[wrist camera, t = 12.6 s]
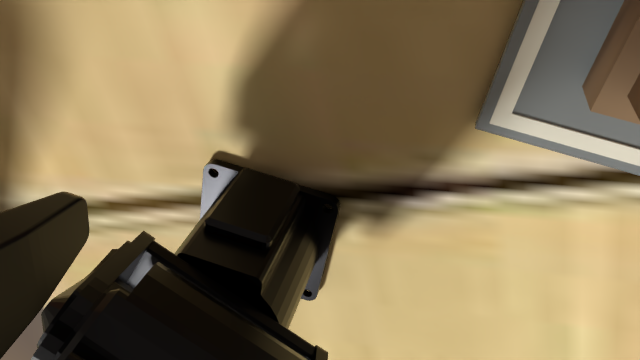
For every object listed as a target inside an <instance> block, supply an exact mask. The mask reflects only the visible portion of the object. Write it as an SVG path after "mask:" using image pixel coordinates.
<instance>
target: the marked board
mask: <svg viewBox="0 0 640 360" xmlns="http://www.w3.org/2000/svg"><path fill="white" fill-rule="evenodd" d="M623 2H624V0H524V1H523V3H522V6H521V8H520V11H519V13H518V16H517V19H516V21H515V24H514V26H513V29H512V31H511V34H510V36H509V39H508V42H507V44H506V47H505V49H504V52H503V54H502V57H501V59H500V62H499V64H498V67H497V70H496V72H495V75H494V77H493V80H492V82H491V85H490V87H489V90H488V93H487V95H486V98H485V100H484V103H483V105H482V108H481V110H480V113H479V115H478V118H477V121H476V124H475V129H478V130H482V131H485V132H489V133H492V134H496V135H499V136H503V137H506V138H510V139H513V140H517V141H520V142H524V143H527V144H531V145H534V146H538V147H541V148H545V149H548V150H552V151H555V152H559V153H562V154H566V155H569V156H573V157H576V158H580V159H583V160H587V161H590V162H594V163H597V164H601V165H604V166H608V167H611V168H615V169H618V170H622V171H625V172H629V173H632V174H636V175H639V176H640V124H636V123H632V122H628V121H625V120H621V119H617V118H614V117H610V116H606V115H602V114H599V113H595V112H591V111H590V109H589V106H588V103H587V100H586V97H585V94H584V91H583V88H582V85H583V83H584V81H585V79H586V77H587V75H588V73H589V71H590V69H591V67H592V65H593V63H594V61H595V59H596V57H597V55H598V53H599V51H600V49H601V47H602V45H603V43H604V41H605V39H606V37H607V35H608V33H609V30H610V28H611V26H612V24H613V22H614V20H615V18H616V16H617V14H618V12H619V10H620V8H621V6H622V4H623Z"/></svg>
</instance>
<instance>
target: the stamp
mask: <svg viewBox="0 0 640 360" xmlns="http://www.w3.org/2000/svg"><path fill="white" fill-rule="evenodd" d="M582 88H583V91H584V94H585V97H586V100H587V103H588V106H589V109H590V111H591V112H595V113H599V114H602V115H606V116H610V117H614V118H617V119H621V120H625V121H628V122H632V123H636V124H640V0H624V2H623V4H622V6H621V8H620V10H619V12H618V14H617V16H616V18H615V20H614V22H613V24H612V26H611V28H610V30H609V33H608V35H607V37H606V39H605V41H604V43H603V45H602V47H601V49H600V51H599V53H598V55H597V57H596V59H595V61H594V63H593V65H592V67H591V69H590V71H589V73H588V75H587V77H586V79H585V81H584V83H583V85H582Z"/></svg>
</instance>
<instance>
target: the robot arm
mask: <svg viewBox="0 0 640 360" xmlns="http://www.w3.org/2000/svg"><path fill="white" fill-rule="evenodd" d="M212 168H213V169H216V170H217V171H218V173H215V172H214V171H213V170H212ZM325 204H329V205H331V206H332V209H330V208H327V207H326V206H325ZM339 210H340V202H339V200H338V199H337V198H336V197H334V196H332V195H329V194H326V193H323V192H320V191H316V190H313V189H310V188H307V187H304V186H300V185H297V184H296V183H293V182H290V181H286V180H283V179H280V178H277V177H273V176H270V175H267V174H264V173H261V172H257V171H254V170H251V169H248V168H242V167H239V166H236V165H233V164H229V163H226V162H223V161H220V160H215V159H214V160H210V161H209V162H208V163H207V164H206V166H205V167H204V170H203V184H202V198H201V213H200V221H199V222H198V223H197V225H196V226H195V227H194V229H193V230H192V231H191V233H190V234H189V235H188V237H187V238H186V239H185V241H184V242H183V243H182V245H181V246H180V247H179V249H178V250H177V251H176V252H175V254H173V253H172V252H170V251H169V250H167V249H166V248H164V247H163V246H161V245H160V244H158V243H157V242H155V241H154V240H155V238H154V237H152V236H151V235H149V234H148V233H146V232H145V231H143V232H142V233H141V234H140V235H139V236H138V237H137V238H135V239H134V240H133V241H132V242H130V241H127V242H126V243H125V244H123V245H122V246H121V247H120V248H119V249H112V250H111V251H110V252H109V254H108V255H107V256H106V257H105V258H104V259H103V260H102V261H101V262H100V263H99V264H98V266H97V267H96V268H95V269H94V270H93V271H92V272H91V273H90V274H89V275H88V276H87V277H85V278H84V279H83V280H81V281H80V282H78V283H76V284H75V285H73V286H72V287H70V288H69V289H67V290H66V291H64V292H63V293H61V294H59V295H58V296H56V297H55V298H53V299H52V300H51V301H50V302H49V304H48V305H47V306H46V307H45V309H44V310H43V312H42V314H41V316H42V324H43V335H42V337H41V338H40V340H39V342H38V344H37V348H38V349H37V350H36V352H35V353H34V355H33V357H32V359H31V360H328V352H326V351H325V350H323V349H322V348H320V347H319V346H317V345H316V346H315V347H314V346H313V345H311V344H310V343H308V342H307V341H305V340H304V339H302V338H301V337H299V336H298V335H296V334H295V333H293V332H292V331H290V330H289V329H288V328H289V325H290V323H291V321H292V318H293V316H294V313H295V311H296V309H297V306H298V304H299V301H300V299H304V300H309V301H310V300H314V299H315V298H316V297H317V294H318V292H319V288H320V284H321V280H322V276H323V272H324V269H325V265H326V261H327V257H328V253H329V249H330V245H331V241H332V237H333V233H334V229H335V225H336V222H337V218H338V214H339ZM88 236H89V221H88V211H87V203H86V201H85V199H84V198H83V197H80V196H77V195H74V194H71V193H68V192H60V193H56V194H53V195H51V196H48V197H45V198H42V199H39V200H36V201H33V202H30V203H27V204H24V205H21V206H18V207H15V208H12V209H9V210H6V211H3V212H0V359H1V358H2V356H3V355H4V354H5V353H6V352H7V350H8V349H9V348H10V347H11V346H12V344H13V343H14V342H15V341H16V339H17V338H18V337H19V336H20V334H21V333H22V332H23V331H24V330H25V328H26V327H27V326H28V325H29V324H30V323H31V321H32V320H33V319H34V318H35V316H36V315H37V314H38V313H39V311H40V310H41V309H42V307H43V306H44V305H45V303H46V302H47V300H48V299H49V297H50V296H51V294H52V293H53V291H54V290H55V288H56V287H57V285H58V284H59V282H60V281H61V279H62V278H63V276H64V275H65V273H66V272H67V270H68V269H69V267H70V266H71V264H72V263H73V261H74V260H75V258H76V257H77V255H78V253H79V252H80V250H81V249H82V247H83V246H84V244H85V243H86V241H87V239H88ZM306 289H307V290H310V291H311V292H310V291H307V290H306Z"/></svg>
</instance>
